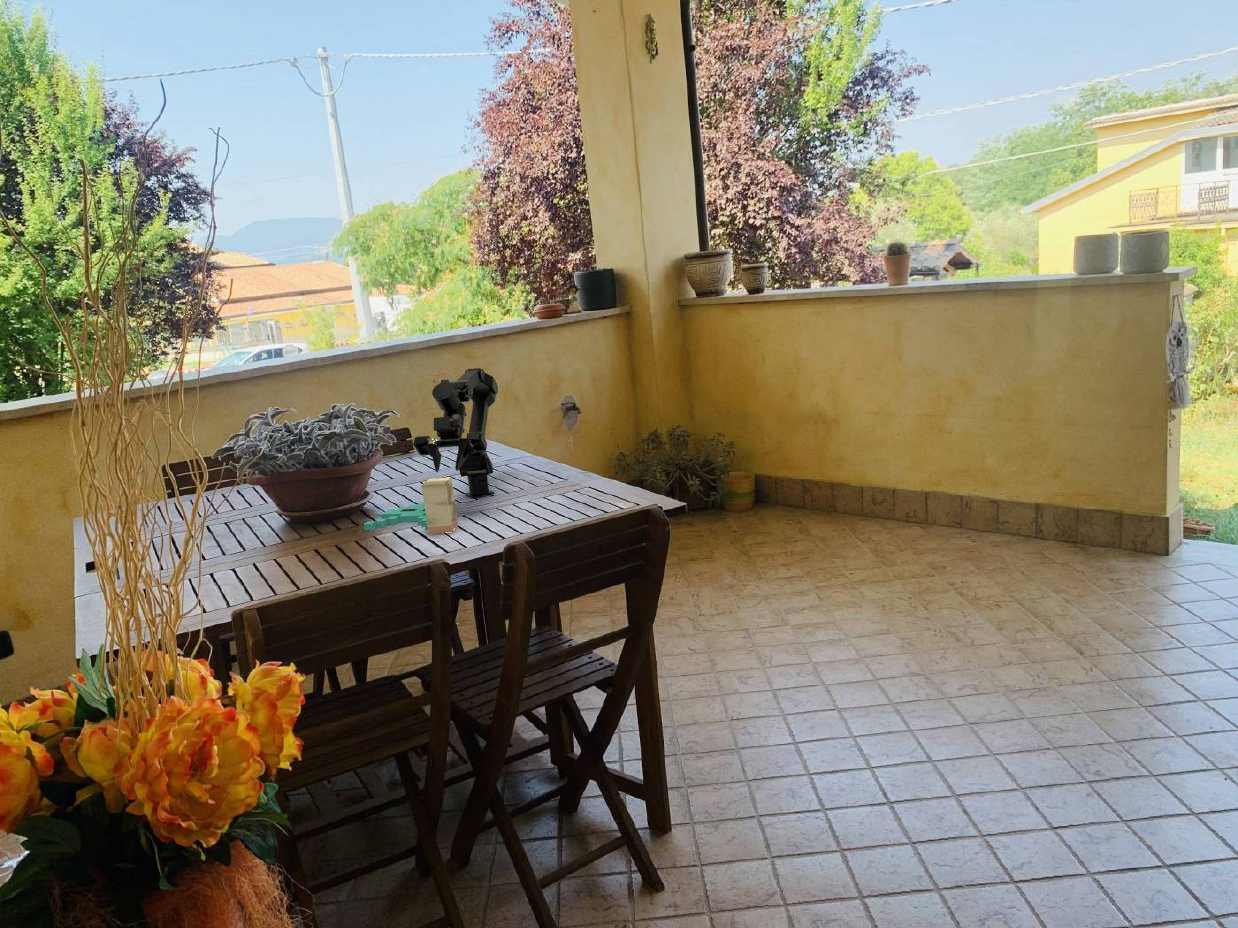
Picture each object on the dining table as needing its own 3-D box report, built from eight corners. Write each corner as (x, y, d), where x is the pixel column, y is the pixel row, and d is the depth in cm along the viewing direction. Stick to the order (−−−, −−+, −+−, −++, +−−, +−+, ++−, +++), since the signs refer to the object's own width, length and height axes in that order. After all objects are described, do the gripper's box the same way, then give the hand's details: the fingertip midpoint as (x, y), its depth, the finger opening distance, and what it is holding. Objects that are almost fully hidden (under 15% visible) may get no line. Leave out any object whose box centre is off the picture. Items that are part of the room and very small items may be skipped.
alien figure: (433, 531, 235) (466, 508, 254) (432, 522, 235) (465, 501, 254) (365, 532, 241) (402, 510, 260) (363, 524, 240) (400, 502, 259)
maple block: (436, 527, 237) (429, 478, 234) (458, 526, 236) (451, 477, 233) (428, 534, 231) (421, 484, 228) (451, 533, 230) (444, 483, 227)
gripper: (409, 407, 241) (401, 457, 233) (478, 401, 239) (472, 451, 231) (424, 430, 251) (416, 479, 243) (489, 425, 248) (484, 474, 240)
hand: (446, 470), depth 239 cm, fingers open, 5 cm apart
